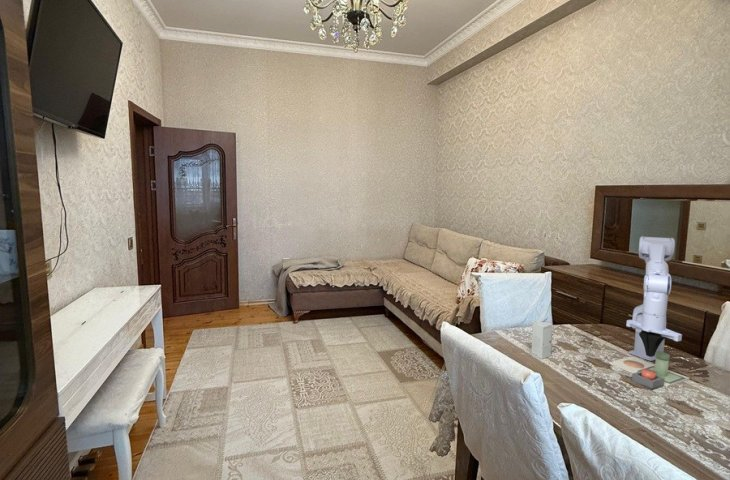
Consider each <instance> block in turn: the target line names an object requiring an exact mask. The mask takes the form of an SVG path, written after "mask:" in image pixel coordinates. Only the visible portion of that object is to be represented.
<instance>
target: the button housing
mask: <svg viewBox="0 0 730 480" xmlns="http://www.w3.org/2000/svg"><path fill="white" fill-rule="evenodd" d="M664 380H665V378H663V377H660V376H658V375H656V377H655V380H649V379H647V378H644V377H642V376H641V371H639V372H636V373H632V374H631V382H632V383H635V384H637V385H640V386H642V387H644V388H647V389H648V390H649V389H650V390H652V391H653V390H656V389H658V388H661V387H665V386H664Z"/></svg>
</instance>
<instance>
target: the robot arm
mask: <svg viewBox="0 0 730 480" xmlns="http://www.w3.org/2000/svg"><path fill="white" fill-rule="evenodd" d="M638 242H639V243H638V256H639V257H638V258H639V259H642V260H644V262H645V275H644V277H643V287H642V288H643V300H642V301H643V302H642V304H640V305H638V306H635V307H634V309H633V311H632V319H627V320H626V324H625V325H626V327H628V328H632V329H633V330H635V334H634V344H633V347H634V348H633V349H631V350H629V351H628V352H627V353H628V354H631V355H633V356H635V357H638V358H640V359H644V360H646V361H650V362H653V361H656V352H665V351H664V349H665V339H666V338H667V339H670V340H673V341H675V342H681V341H682V338H683V334H681V333H679V332H676V331H673V330H671V329H668V328H667V310H668V309H667V308H668V301H669V295H670V294H671V291H672V282H673V281H672V276H671V274H670V273H669V272H670V271H669V264H668V263H667V261H671V260H672V258H673V255H675V254H674V253H675V247H676V246H675V245H676V244H675V243H676V240H675V239H674V237H656V236H655V237H654V236H644V235H641V236H640V237H639V241H638Z"/></svg>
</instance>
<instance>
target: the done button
mask: <svg viewBox="0 0 730 480" xmlns="http://www.w3.org/2000/svg"><path fill="white" fill-rule="evenodd" d="M641 376H642V377H644V378H647V379H649V380H655V377H656V372H655V371H653V370H650V369H642V371H641Z"/></svg>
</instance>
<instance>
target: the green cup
mask: <svg viewBox="0 0 730 480" xmlns="http://www.w3.org/2000/svg"><path fill="white" fill-rule="evenodd" d="M670 358H671V355H670V353H667V352H665V351H664V352H656V360H654V361H655V362H654V363H655V364H654V365H655V372H656V375H658V376H662V377H667V376H668V370H669V364H670Z"/></svg>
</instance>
